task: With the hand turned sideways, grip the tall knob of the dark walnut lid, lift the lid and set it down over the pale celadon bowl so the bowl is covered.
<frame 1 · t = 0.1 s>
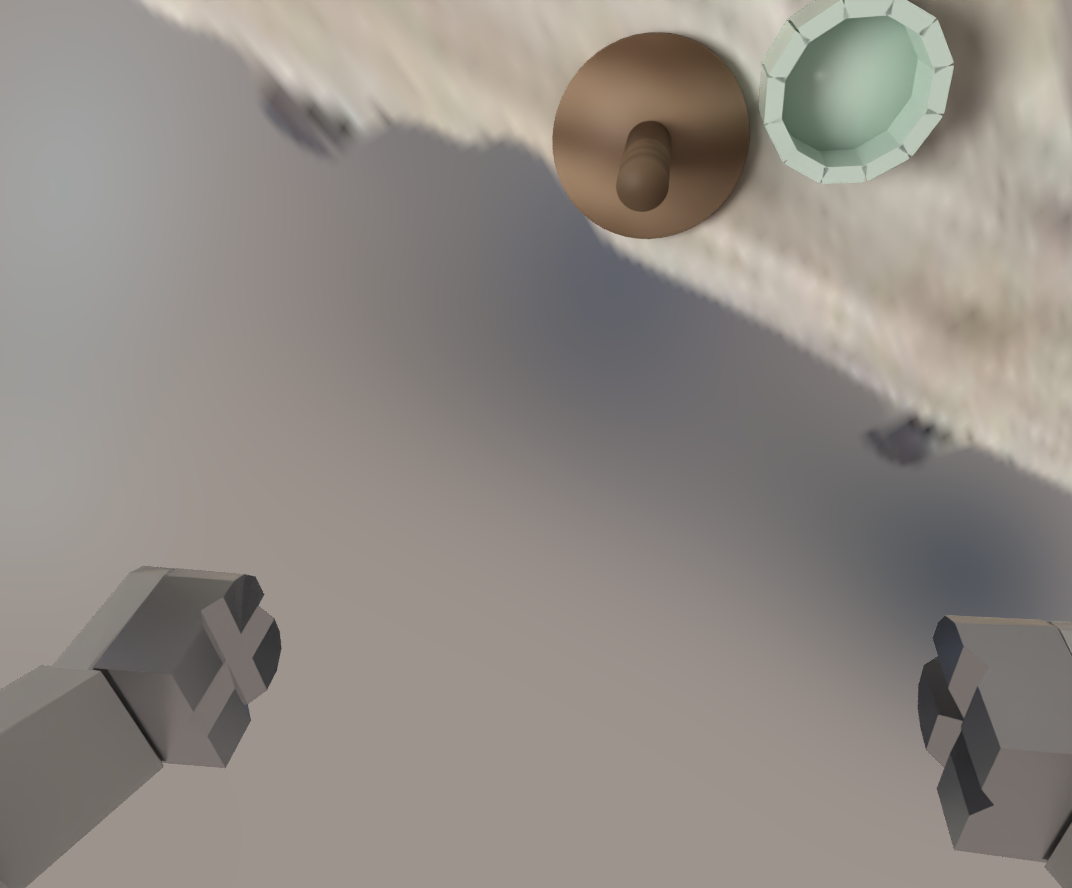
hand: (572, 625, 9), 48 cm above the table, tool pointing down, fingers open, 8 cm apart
walnut lid: (649, 139, 51), on the table
celadon bowl: (842, 80, 47), on the table
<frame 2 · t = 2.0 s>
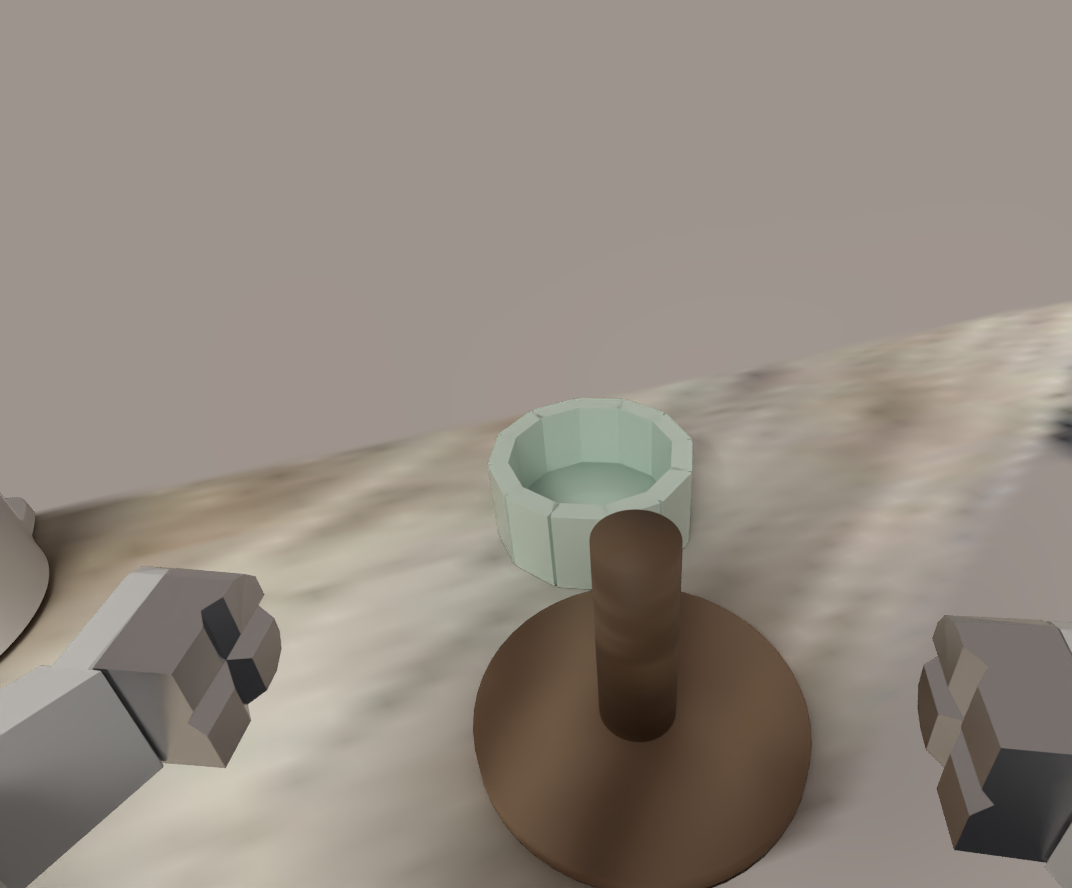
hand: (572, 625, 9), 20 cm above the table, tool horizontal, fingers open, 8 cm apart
walnut lid: (637, 725, 30), on the table
celadon bowl: (593, 519, 40), on the table
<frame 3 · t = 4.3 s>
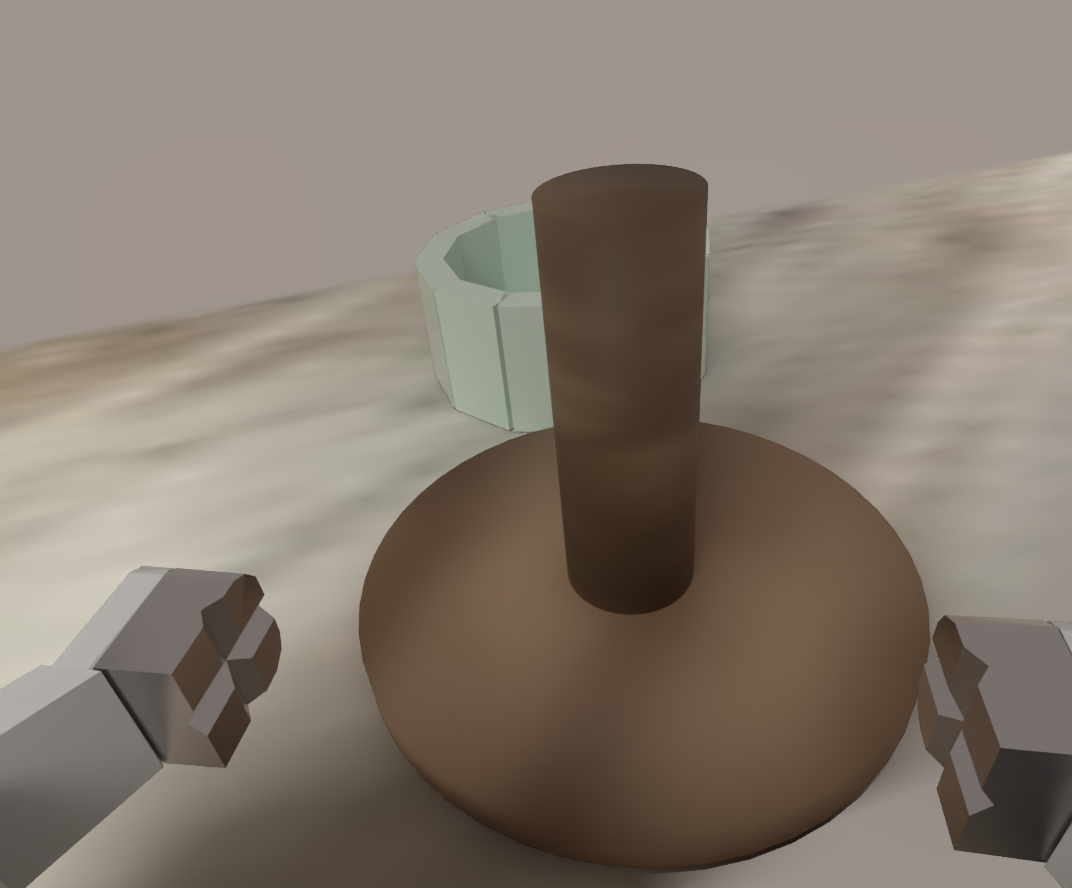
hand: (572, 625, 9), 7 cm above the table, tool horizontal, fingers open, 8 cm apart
walnut lid: (630, 601, 19), on the table
celadon bowl: (570, 357, 29), on the table
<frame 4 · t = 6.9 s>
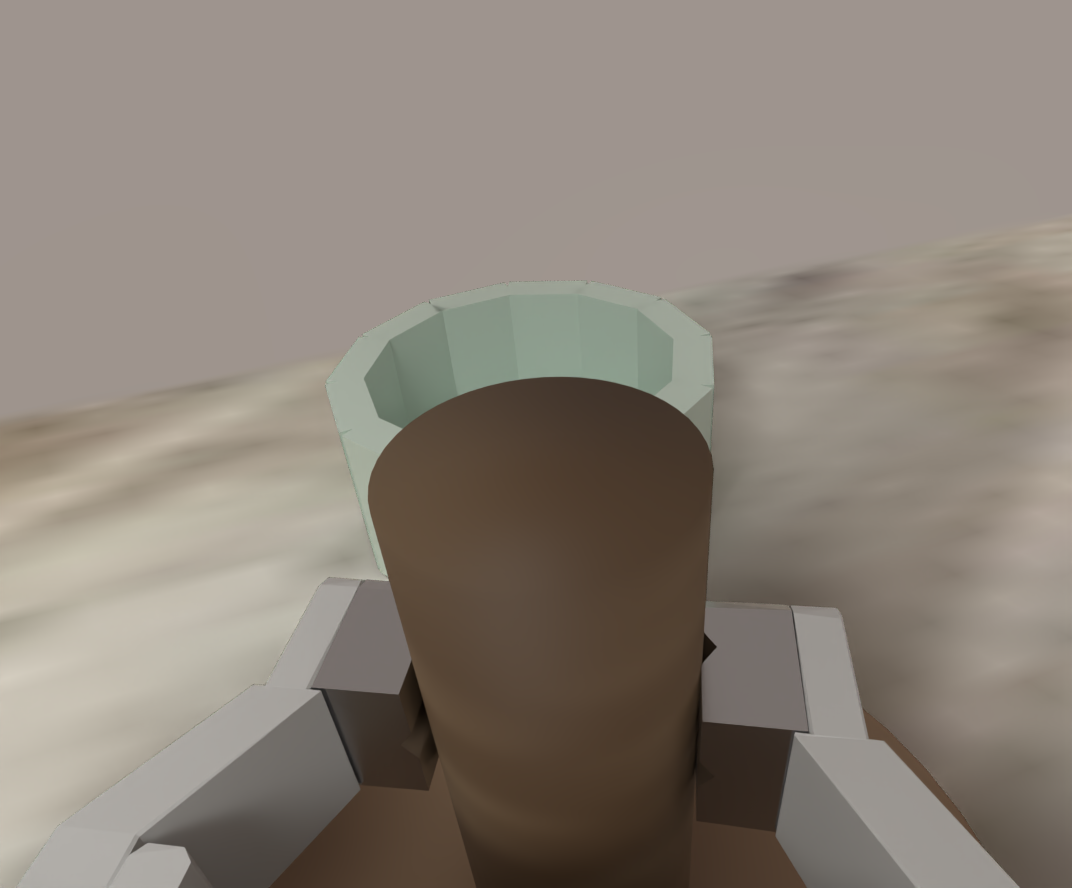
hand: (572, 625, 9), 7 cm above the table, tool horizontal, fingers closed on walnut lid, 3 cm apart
celadon bowl: (534, 490, 23), on the table
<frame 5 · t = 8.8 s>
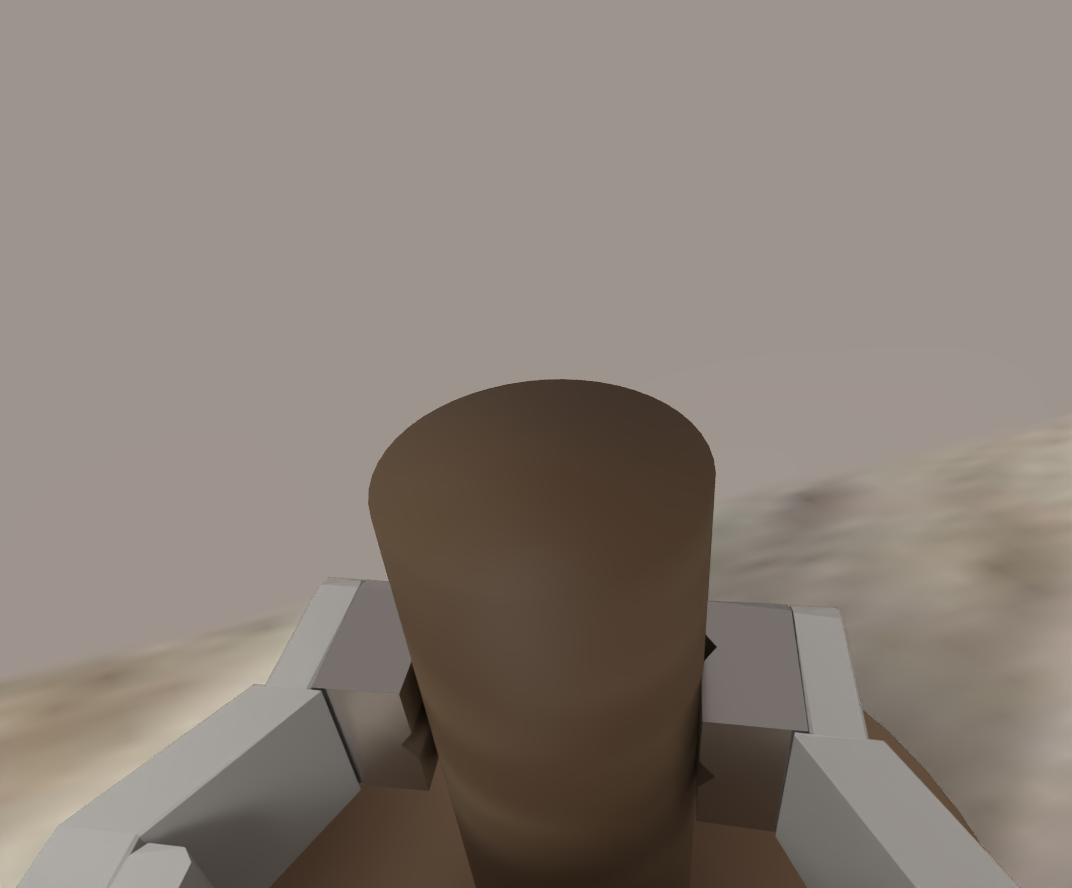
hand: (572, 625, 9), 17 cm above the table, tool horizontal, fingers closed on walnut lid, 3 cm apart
when the fingers open (13 cm above the table, at t = 11.0 s): walnut lid drops 1 cm, resting on celadon bowl.
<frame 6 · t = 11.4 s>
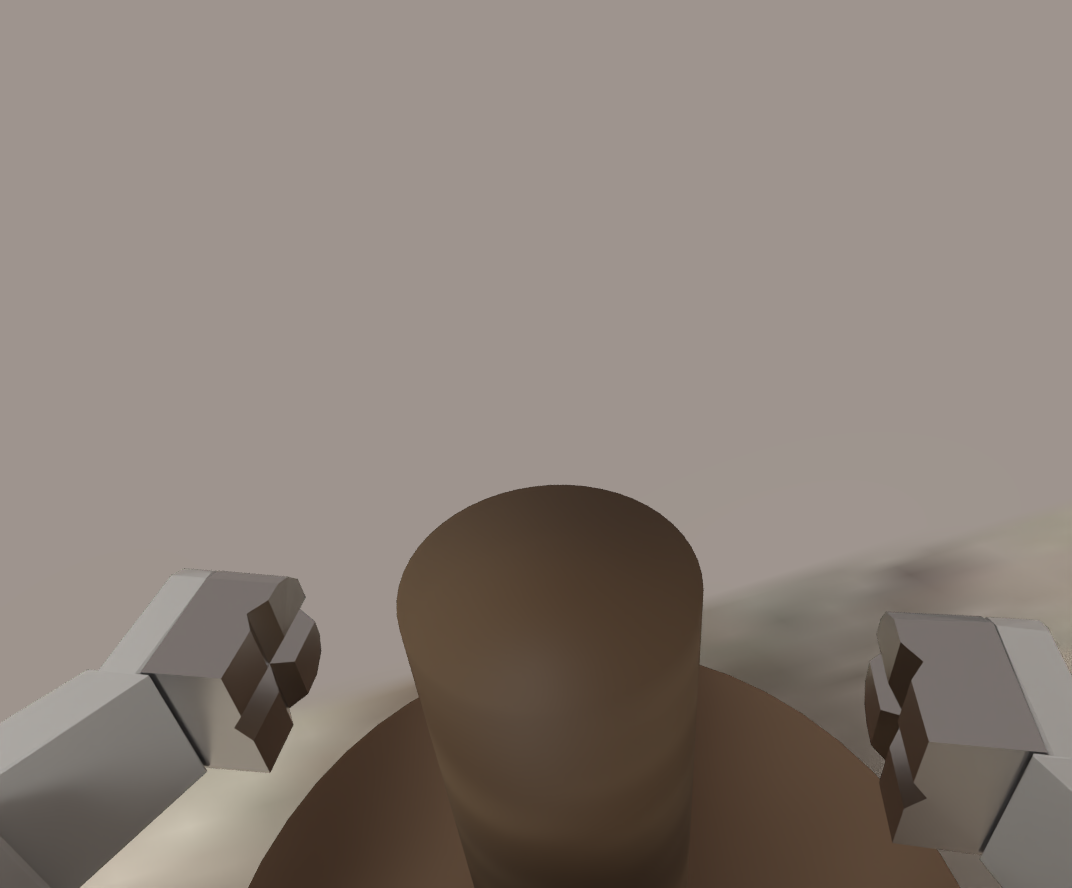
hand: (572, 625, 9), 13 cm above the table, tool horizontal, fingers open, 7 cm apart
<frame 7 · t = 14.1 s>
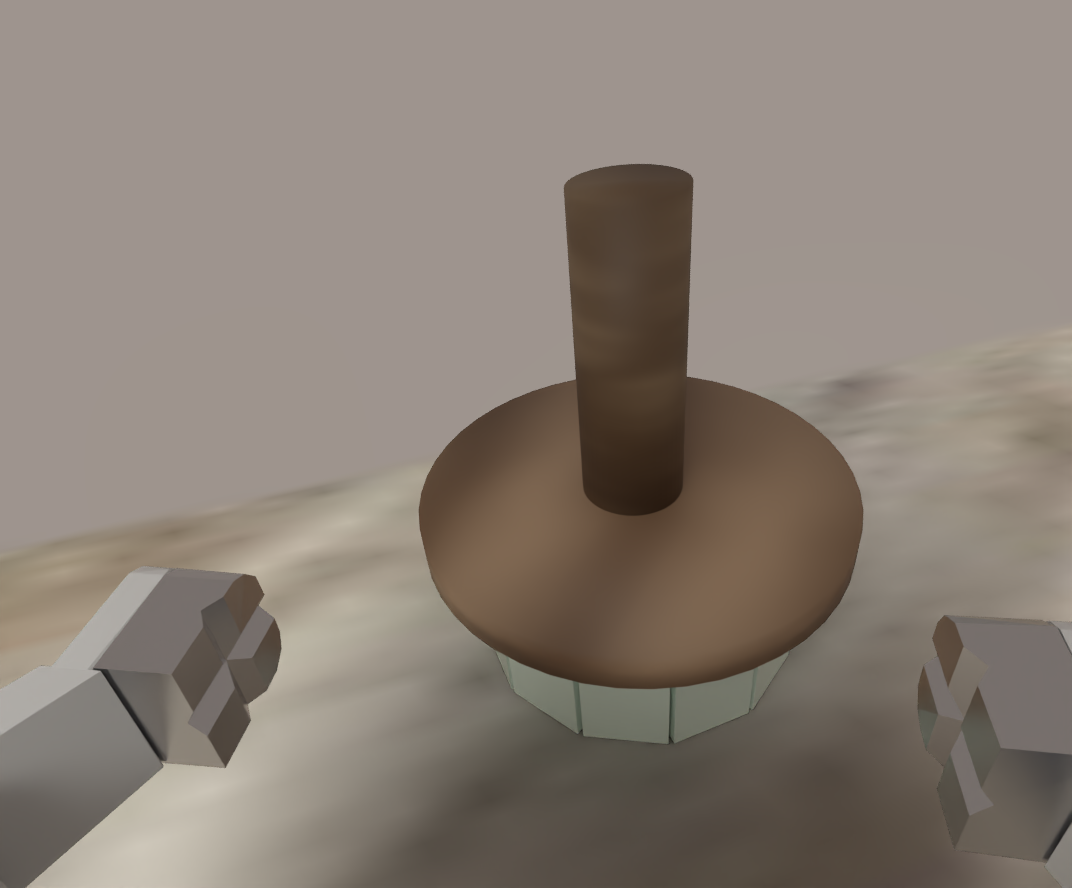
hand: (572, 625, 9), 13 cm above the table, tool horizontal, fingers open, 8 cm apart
walnut lid: (632, 513, 24), point 4 cm above the table, touching celadon bowl
celadon bowl: (635, 610, 26), on the table
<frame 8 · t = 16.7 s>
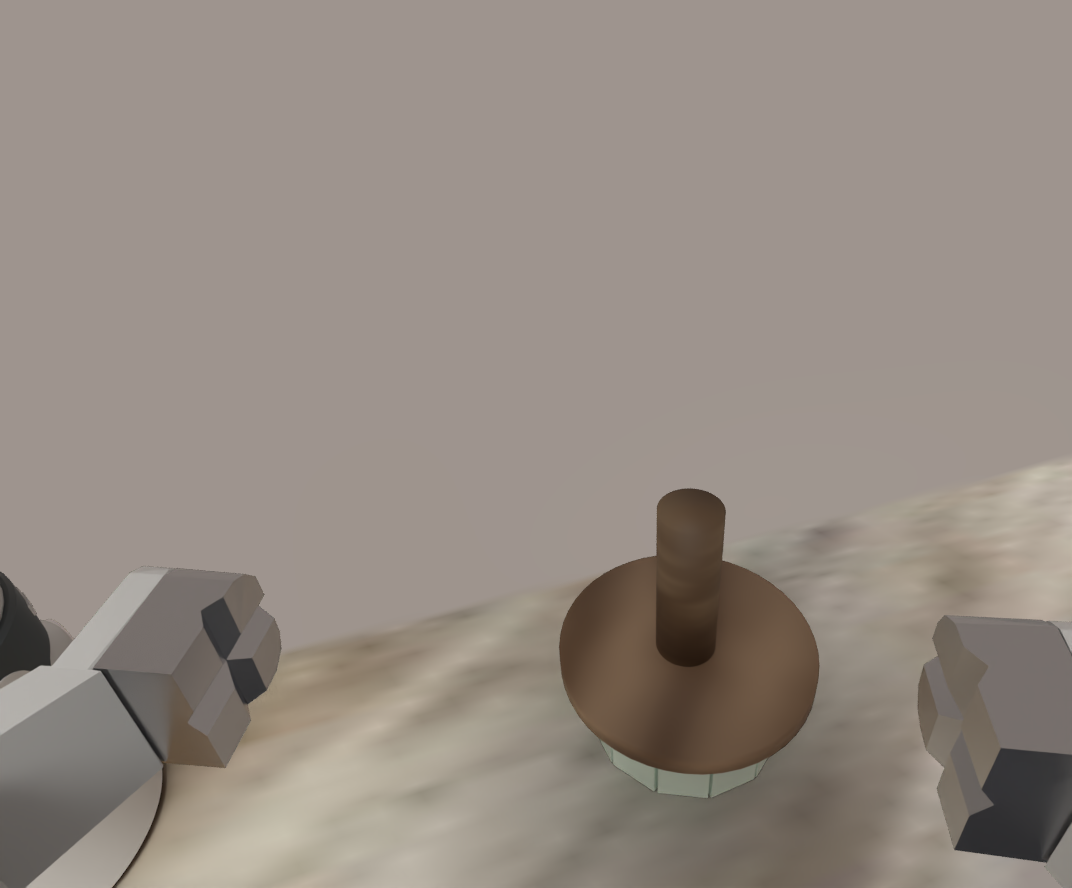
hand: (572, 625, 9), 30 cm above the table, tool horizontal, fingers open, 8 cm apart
walnut lid: (684, 658, 40), point 4 cm above the table, touching celadon bowl
celadon bowl: (683, 710, 42), on the table
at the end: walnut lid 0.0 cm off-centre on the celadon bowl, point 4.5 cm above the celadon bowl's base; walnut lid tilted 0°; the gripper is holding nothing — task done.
